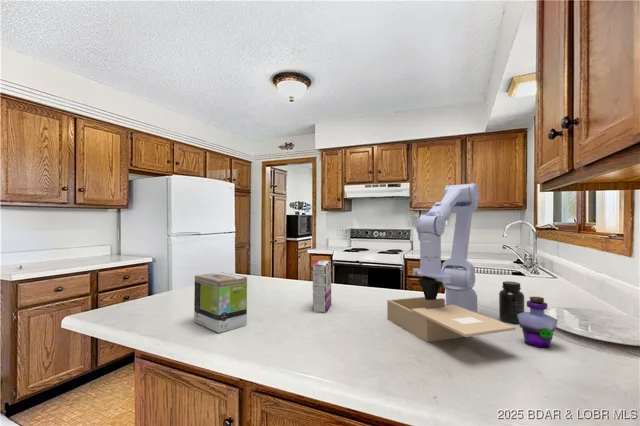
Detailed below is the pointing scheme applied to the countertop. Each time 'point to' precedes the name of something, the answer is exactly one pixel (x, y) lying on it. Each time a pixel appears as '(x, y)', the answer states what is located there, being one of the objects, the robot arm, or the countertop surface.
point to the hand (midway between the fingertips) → (430, 303)
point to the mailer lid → (460, 319)
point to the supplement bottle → (510, 302)
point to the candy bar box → (321, 286)
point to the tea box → (220, 301)
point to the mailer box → (416, 320)
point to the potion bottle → (537, 324)
